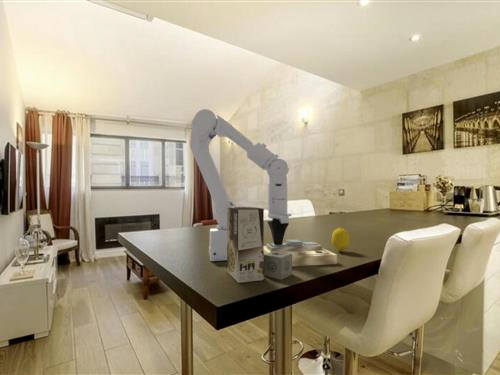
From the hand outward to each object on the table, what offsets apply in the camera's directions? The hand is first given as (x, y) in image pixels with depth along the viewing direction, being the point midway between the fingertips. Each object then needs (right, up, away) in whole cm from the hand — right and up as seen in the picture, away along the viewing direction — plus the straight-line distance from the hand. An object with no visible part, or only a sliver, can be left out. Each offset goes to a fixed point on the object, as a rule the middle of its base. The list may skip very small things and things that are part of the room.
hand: (278, 244), depth 80 cm
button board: (+5, -4, -1) cm, 7 cm away
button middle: (+5, -1, +1) cm, 5 cm away
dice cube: (-2, -4, -16) cm, 17 cm away
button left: (0, -1, 0) cm, 1 cm away
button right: (+10, -1, +2) cm, 10 cm away
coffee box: (-10, -4, -17) cm, 20 cm away
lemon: (+21, -4, +8) cm, 23 cm away
